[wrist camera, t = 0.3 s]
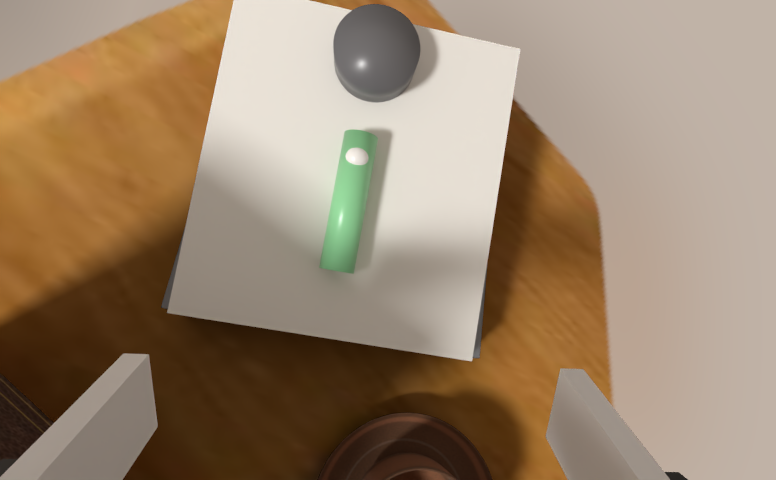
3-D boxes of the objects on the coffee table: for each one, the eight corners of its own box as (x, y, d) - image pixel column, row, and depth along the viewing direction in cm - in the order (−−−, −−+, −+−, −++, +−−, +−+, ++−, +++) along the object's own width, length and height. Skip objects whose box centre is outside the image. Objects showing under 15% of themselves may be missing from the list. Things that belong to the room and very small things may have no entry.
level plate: (465, 356, 27) (483, 370, 24) (177, 310, 26) (149, 317, 22) (511, 60, 29) (535, 30, 25) (243, -1, 27) (227, -43, 23)
